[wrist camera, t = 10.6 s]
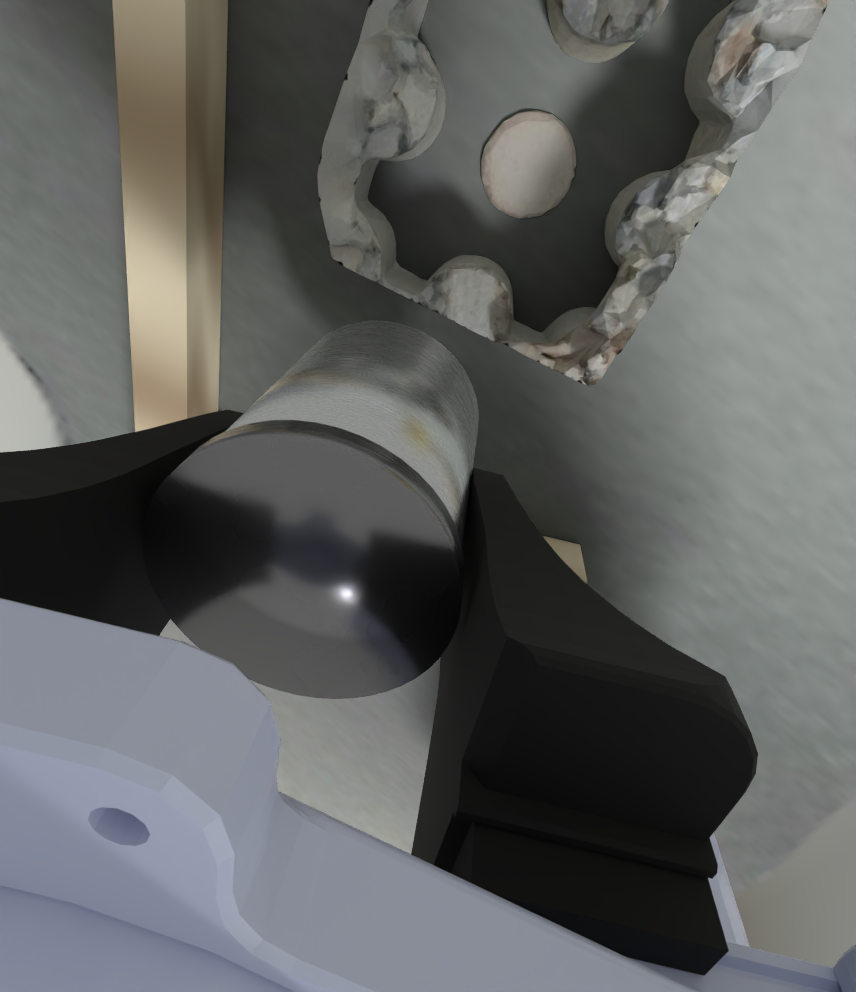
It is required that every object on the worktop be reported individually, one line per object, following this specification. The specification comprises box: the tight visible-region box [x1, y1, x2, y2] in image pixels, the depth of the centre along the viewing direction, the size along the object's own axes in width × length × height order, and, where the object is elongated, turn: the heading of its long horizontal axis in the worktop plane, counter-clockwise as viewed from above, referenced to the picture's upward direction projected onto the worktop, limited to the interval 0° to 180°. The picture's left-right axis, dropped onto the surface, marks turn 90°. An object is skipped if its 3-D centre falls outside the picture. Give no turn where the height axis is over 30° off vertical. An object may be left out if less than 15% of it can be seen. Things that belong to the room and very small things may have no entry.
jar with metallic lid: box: [142, 320, 479, 699], centre depth 11 cm, size 5×5×6 cm
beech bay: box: [112, 0, 588, 584], centre depth 14 cm, size 20×14×2 cm
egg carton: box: [317, 0, 830, 386], centre depth 12 cm, size 11×8×4 cm
